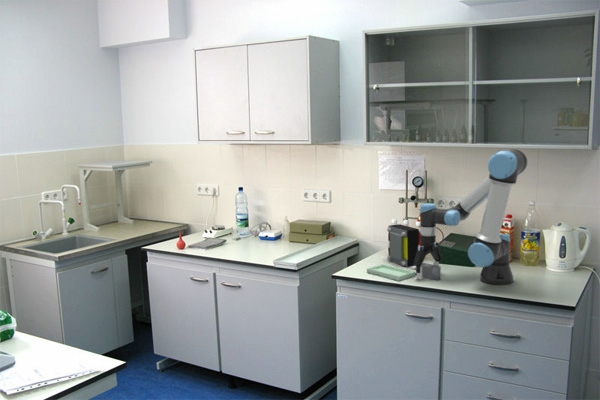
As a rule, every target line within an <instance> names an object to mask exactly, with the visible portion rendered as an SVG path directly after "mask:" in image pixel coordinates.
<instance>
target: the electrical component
mask: <svg viewBox="0 0 600 400" xmlns="http://www.w3.org/2000/svg"><path fill="white" fill-rule="evenodd" d="M386 231H387V232H388V241H389V242H388V246H389V247H388V251H389V252H388V253H389V254H388V256H386V258H387V261H390V262H392V263H395V264H397V265H401V266H403V267H406V268H410V267H412V266H414V265H413V263H414V260H415V256H416V252H417V246H420V228H416V227H412V226H407V225H404V224H401V223H400V224H398V223H397V224H389V225H388V228H387V229H386Z"/></svg>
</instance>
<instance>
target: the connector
mask: <svg viewBox="0 0 600 400" xmlns="http://www.w3.org/2000/svg"><path fill="white" fill-rule="evenodd" d="M421 267H422V279H423V278H424V279H428V280H432V281H439V280H441V277H442V275H441V273H442V272H441V266H440V265H439V266H436V265H434V264H432V263H426V262H423V263H422V265H421ZM409 268H410V269H409V270H411V271H415V277H417V272H416V266H412V267H409Z"/></svg>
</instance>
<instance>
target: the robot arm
mask: <svg viewBox="0 0 600 400" xmlns="http://www.w3.org/2000/svg"><path fill="white" fill-rule="evenodd" d="M527 167H528V158H527V155H526V154H525V153H524V152H523V151H522V150H519V149H515V148H514V149H513V148H511V149H508V150H501V151H498V152H496V153H494V154H492V155H491V157H490V158H489V159H488V162H487V170H488V172H489V175H488V176H487V177H486V178H485V179H483V181H481V182H480V183H479V184H478V185H477V186H475V188H473V189H472V190H471V192H469V193H468V194H467V195H466V196H465V197H463V199H461V200H460V201H459V202H458V203H457V204H456V205H455V206H452V207H449V208H446V209H445V208H437V205H436V204H435V203H433V202H432V203H431V202H430V203H428V202H427V203H426V202H425V203H421V205H420V209H419V211H420V212H419V216H420V217H419V218H420V225H419V227H420V228H419V243H421V246H420V245H419V246H417V252H416V256H415V260H414V263H413V265H414V266H416V270H415V273H416V272H417V276H416V279H417V280H421V281H422V280H423V277H422V267H421V265H422V263H424V260H425V259H426V256H427V255H428V254H430V255H431V257H432V258H433V265H436V266H440V263H441V262H442V260H443V256H442V253H441V250H440V247H439V245H440V244H439V242H437V240H436V239H437V238H436V237H437V236H436V235H437V225H442V226H449V227H452V226H453V227H456V226H458V225H459V223H460V222H461V221H465V220H466V219H468V218H469V216H470V214H471V213H473V211H475V210H476V209H477V208H479V207H480V205H482V204H483V203H484V202H485V201H486V204H485V208H484V212H483V216H482V221H481V225H480V230H479V232H476V234H475V235H474V240H473V243H472V244H471V245H470V246H469V247H468V250H467V256H468V258H469V260H470V261H471V263H472V264H474V266H477V267H478V268H479V267H480V268H482V269H481V271H480V275H479V279H480V282H482V283H485V284H490V285H508V284H512V283H514V275H513V271H512V269H511V265H510V264H511V263H510V259H511V258H510V257H511V237H510V235H509V234H506V233H501V230H502V226H503V221H504V219H505V218H504V217H505V214H506V210H507V205H508V200H509V198H510V197H509V196H510V193H511V189H512V187H513V186H514V185H515V184H517V179H518V176H519V175H521V174H522V173H523V172H525V170H526V169H527Z"/></svg>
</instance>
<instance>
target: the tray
mask: <svg viewBox="0 0 600 400" xmlns="http://www.w3.org/2000/svg"><path fill="white" fill-rule="evenodd" d="M366 273H367V274H371V275H373V276H377V277H381V278H385V279H389V280H392V281H396V282H402V281H405V280H409V279H411V278H415V277H416V271H414V270H410V269H409V270H408V269H405V268H401V267H396V266H393V265H388V264H384V263H382V264H379V265H374V266H371V267H367V268H366Z"/></svg>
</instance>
